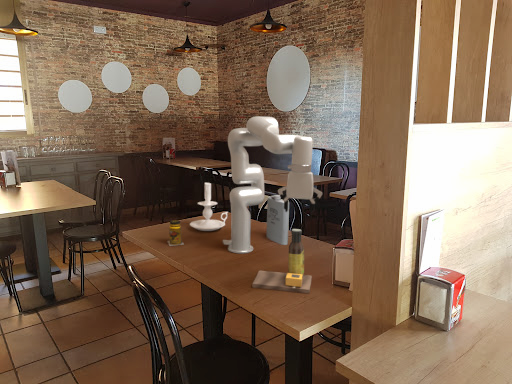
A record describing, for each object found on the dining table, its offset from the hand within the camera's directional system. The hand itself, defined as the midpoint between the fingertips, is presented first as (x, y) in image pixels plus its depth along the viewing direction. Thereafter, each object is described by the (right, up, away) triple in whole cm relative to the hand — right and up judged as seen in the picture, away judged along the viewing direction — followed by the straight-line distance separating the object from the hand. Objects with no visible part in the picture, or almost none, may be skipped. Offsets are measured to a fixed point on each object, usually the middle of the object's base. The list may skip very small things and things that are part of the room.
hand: (298, 212), depth 153 cm
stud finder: (-2, -28, -2) cm, 28 cm away
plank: (-6, -29, +3) cm, 29 cm away
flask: (-6, -19, +58) cm, 61 cm away
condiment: (-59, -19, +49) cm, 79 cm away
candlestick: (-44, -14, +78) cm, 90 cm away
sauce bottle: (-1, -27, +5) cm, 27 cm away
